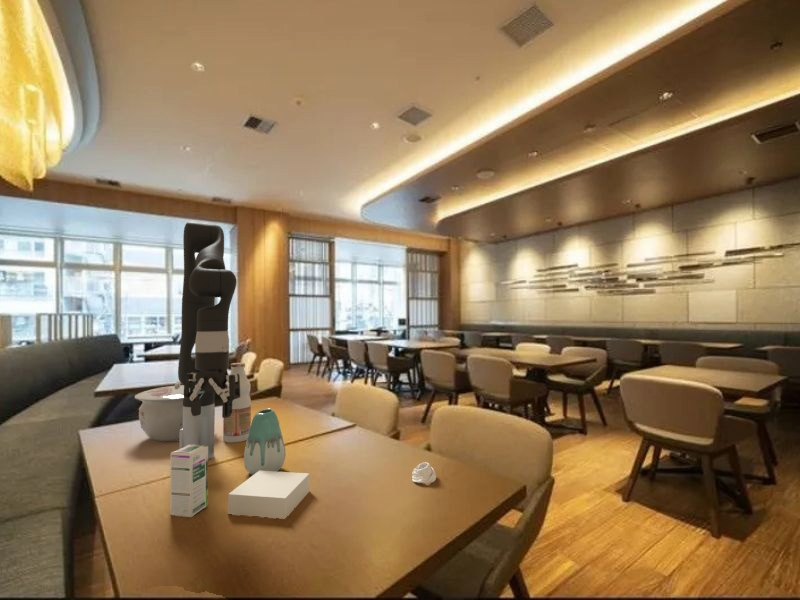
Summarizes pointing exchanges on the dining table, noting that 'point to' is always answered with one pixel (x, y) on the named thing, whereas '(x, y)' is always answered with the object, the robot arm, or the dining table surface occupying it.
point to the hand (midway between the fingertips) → (211, 416)
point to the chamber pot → (162, 412)
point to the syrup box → (189, 480)
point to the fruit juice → (239, 410)
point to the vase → (264, 443)
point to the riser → (269, 494)
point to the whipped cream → (423, 473)
